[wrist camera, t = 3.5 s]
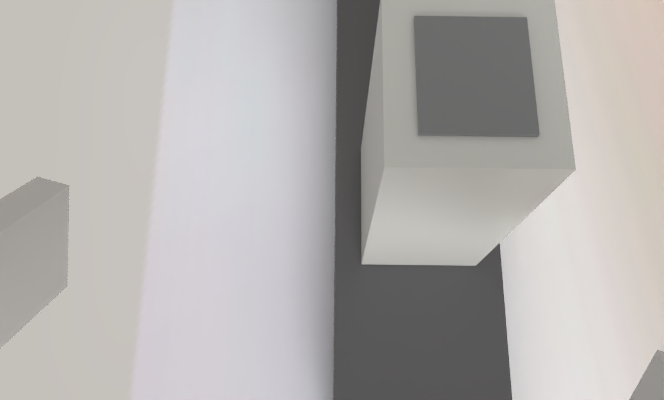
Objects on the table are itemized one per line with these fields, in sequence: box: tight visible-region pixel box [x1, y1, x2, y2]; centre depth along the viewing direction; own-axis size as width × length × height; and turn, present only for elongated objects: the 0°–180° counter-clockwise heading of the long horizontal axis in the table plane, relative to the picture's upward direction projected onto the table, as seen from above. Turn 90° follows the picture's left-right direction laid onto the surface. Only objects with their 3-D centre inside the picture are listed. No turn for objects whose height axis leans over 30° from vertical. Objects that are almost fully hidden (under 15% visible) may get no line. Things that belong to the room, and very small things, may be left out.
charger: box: [361, 0, 576, 266], centre depth 20 cm, size 5×4×12 cm
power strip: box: [333, 0, 512, 400], centre depth 25 cm, size 32×6×3 cm, turn 179°
